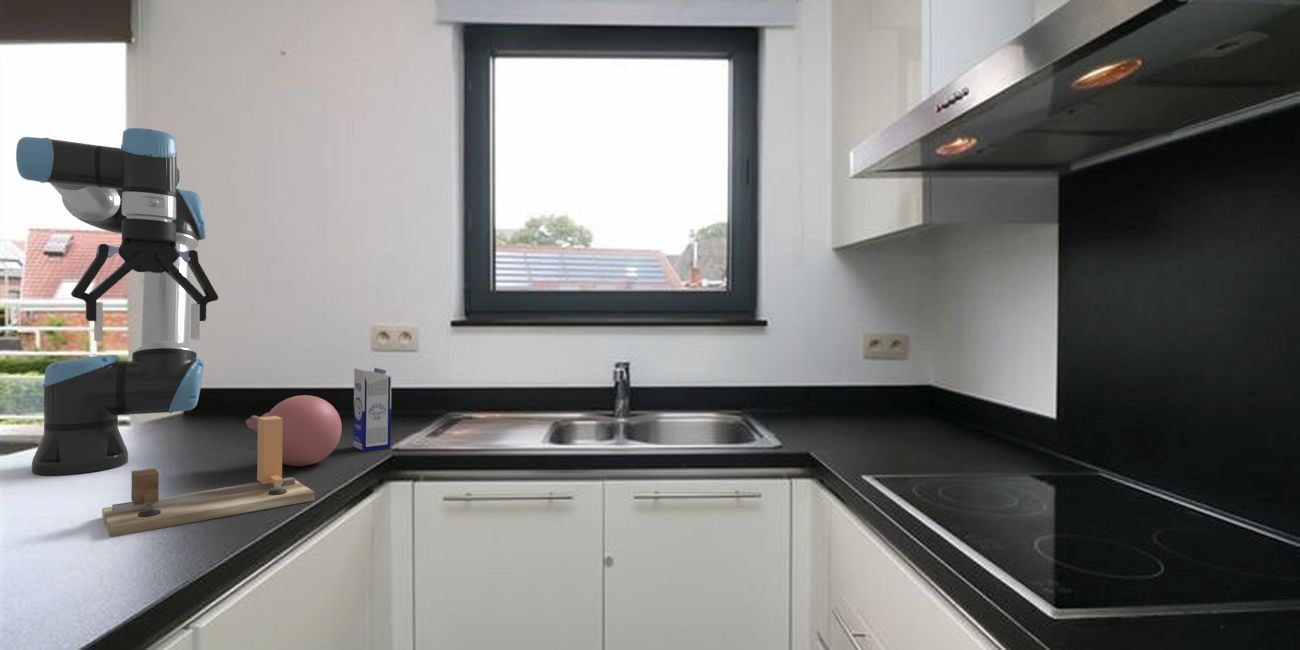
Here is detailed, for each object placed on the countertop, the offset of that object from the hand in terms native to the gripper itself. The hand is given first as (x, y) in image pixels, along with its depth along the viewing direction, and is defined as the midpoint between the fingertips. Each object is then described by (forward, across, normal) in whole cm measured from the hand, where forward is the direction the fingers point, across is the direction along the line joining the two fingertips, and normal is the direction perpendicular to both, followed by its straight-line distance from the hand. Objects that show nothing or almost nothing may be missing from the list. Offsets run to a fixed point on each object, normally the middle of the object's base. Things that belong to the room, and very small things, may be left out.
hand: (148, 340), depth 112 cm
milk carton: (+29, +47, +15) cm, 57 cm away
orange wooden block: (+26, +15, -15) cm, 34 cm away
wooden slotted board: (+28, +6, -15) cm, 32 cm away
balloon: (+29, +27, +9) cm, 40 cm away
